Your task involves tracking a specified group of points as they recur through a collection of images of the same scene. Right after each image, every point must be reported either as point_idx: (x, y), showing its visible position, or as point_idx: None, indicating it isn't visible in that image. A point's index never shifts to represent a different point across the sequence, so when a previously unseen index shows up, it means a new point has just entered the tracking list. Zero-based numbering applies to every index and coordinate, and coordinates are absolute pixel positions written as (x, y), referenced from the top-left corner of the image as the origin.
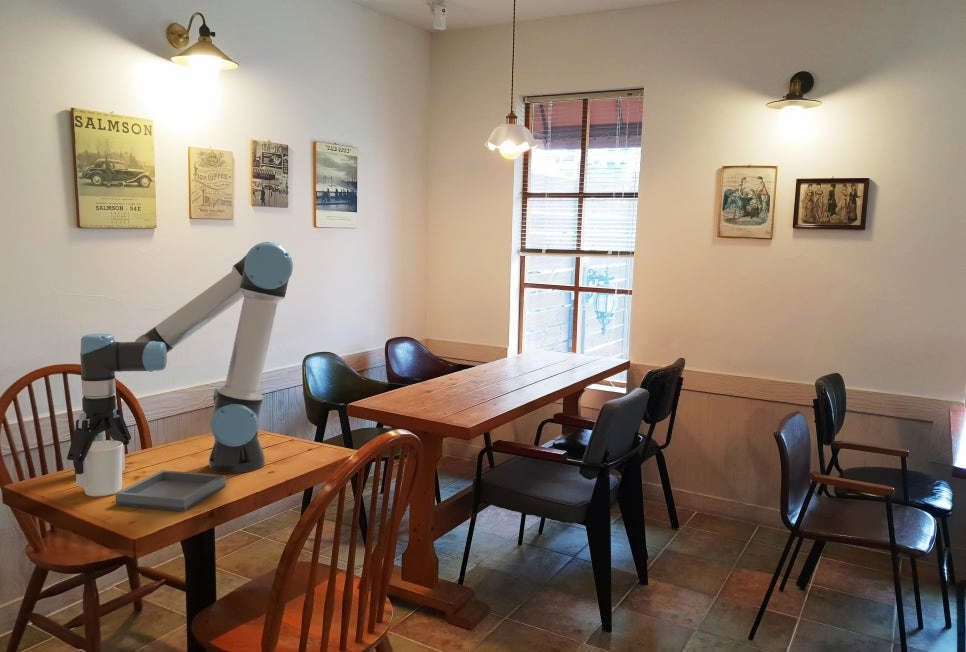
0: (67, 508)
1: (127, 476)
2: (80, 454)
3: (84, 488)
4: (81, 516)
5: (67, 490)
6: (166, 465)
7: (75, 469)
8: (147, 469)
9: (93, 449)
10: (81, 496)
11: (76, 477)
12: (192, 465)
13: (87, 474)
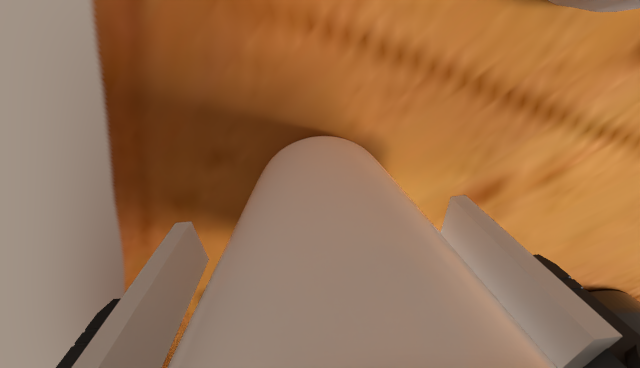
0: (134, 211)
1: (498, 156)
2: (174, 360)
3: (264, 169)
4: (129, 282)
5: (275, 33)
6: (623, 196)
7: (86, 336)
8: (586, 166)
9: (452, 288)
10: (243, 165)
11: (151, 259)
12: (593, 259)
13: (181, 313)
